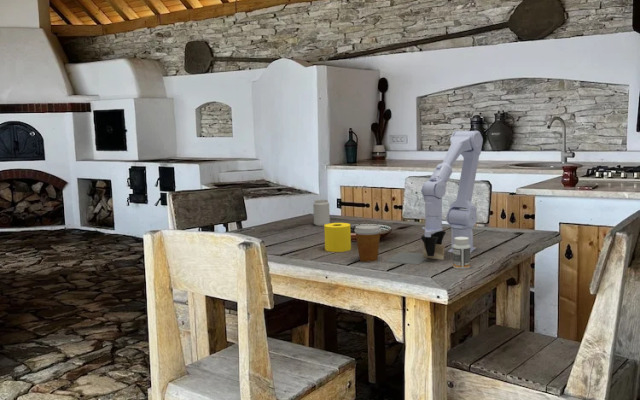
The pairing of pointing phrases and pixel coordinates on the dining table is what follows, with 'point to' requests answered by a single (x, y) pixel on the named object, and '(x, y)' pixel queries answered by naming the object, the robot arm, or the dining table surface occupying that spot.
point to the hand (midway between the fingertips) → (433, 253)
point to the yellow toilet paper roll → (337, 237)
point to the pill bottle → (461, 253)
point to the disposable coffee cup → (368, 241)
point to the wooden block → (436, 252)
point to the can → (321, 212)
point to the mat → (407, 258)
